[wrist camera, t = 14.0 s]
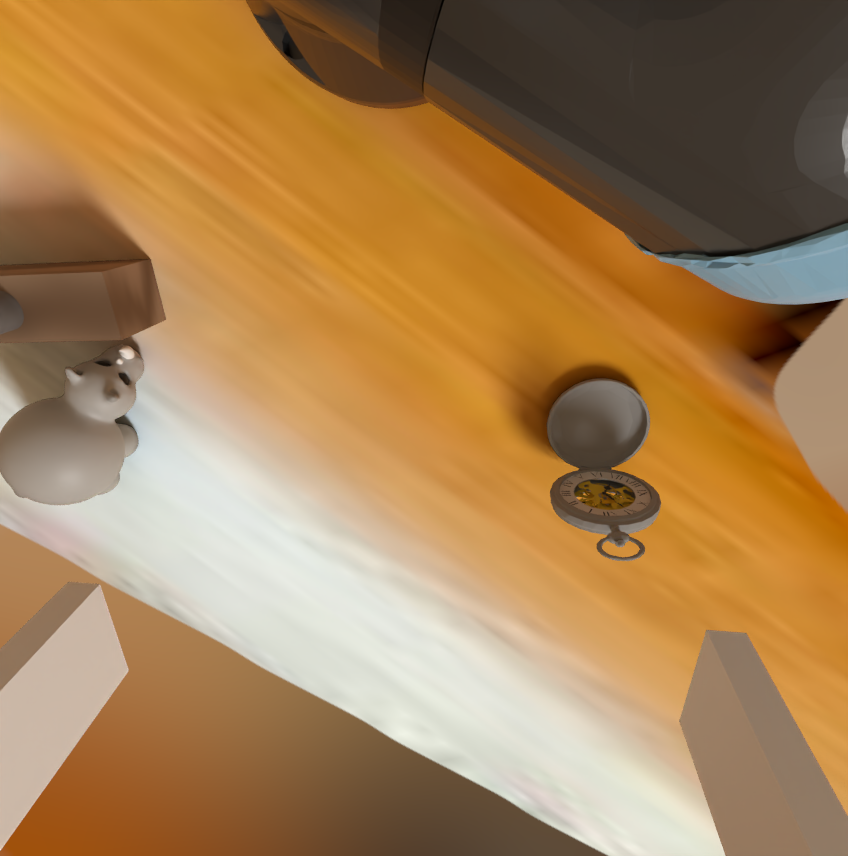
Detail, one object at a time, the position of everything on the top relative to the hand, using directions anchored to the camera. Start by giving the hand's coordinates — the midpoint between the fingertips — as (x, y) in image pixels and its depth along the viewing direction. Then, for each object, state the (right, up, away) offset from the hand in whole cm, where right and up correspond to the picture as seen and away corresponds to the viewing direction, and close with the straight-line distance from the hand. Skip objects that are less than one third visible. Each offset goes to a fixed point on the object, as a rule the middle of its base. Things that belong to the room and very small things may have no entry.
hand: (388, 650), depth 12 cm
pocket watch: (+12, +4, +26) cm, 29 cm away
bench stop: (-24, +14, +25) cm, 37 cm away
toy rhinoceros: (-22, +7, +29) cm, 37 cm away
